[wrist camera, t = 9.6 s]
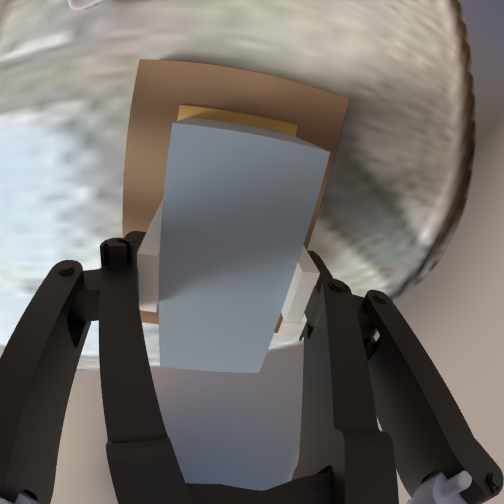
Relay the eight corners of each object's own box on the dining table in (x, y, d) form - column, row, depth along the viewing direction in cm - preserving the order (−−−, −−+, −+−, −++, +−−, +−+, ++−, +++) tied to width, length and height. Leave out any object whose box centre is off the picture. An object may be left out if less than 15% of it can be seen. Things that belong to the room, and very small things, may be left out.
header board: (147, 64, 13) (118, 47, 8) (335, 98, 16) (382, 100, 11) (132, 303, 21) (118, 356, 16) (273, 316, 24) (287, 367, 19)
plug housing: (246, 305, 20) (259, 372, 15) (170, 298, 19) (160, 366, 14) (288, 133, 14) (330, 152, 9) (188, 116, 13) (172, 123, 8)
